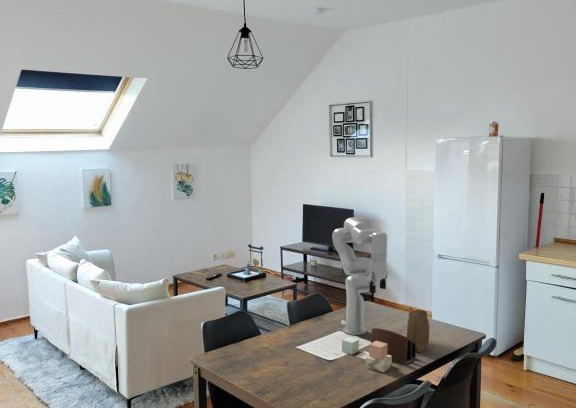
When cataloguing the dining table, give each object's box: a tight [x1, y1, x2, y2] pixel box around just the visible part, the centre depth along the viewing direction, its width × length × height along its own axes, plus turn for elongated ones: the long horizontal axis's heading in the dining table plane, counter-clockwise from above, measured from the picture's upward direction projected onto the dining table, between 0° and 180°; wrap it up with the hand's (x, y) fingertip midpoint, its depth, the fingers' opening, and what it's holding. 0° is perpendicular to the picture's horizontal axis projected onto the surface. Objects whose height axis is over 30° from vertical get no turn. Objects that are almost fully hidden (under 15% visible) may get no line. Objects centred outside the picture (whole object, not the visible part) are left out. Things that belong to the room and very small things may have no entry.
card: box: [355, 350, 369, 361], centre depth 262 cm, size 8×8×1 cm
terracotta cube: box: [368, 341, 387, 360], centre depth 250 cm, size 6×6×6 cm
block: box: [406, 309, 430, 353], centre depth 271 cm, size 11×8×20 cm
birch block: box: [365, 355, 393, 373], centre depth 251 cm, size 9×9×5 cm
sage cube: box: [341, 336, 360, 355], centre depth 268 cm, size 6×6×6 cm
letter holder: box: [370, 327, 417, 366], centre depth 262 cm, size 10×20×14 cm, turn 49°
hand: (377, 290), depth 268 cm, fingers open, 9 cm apart
